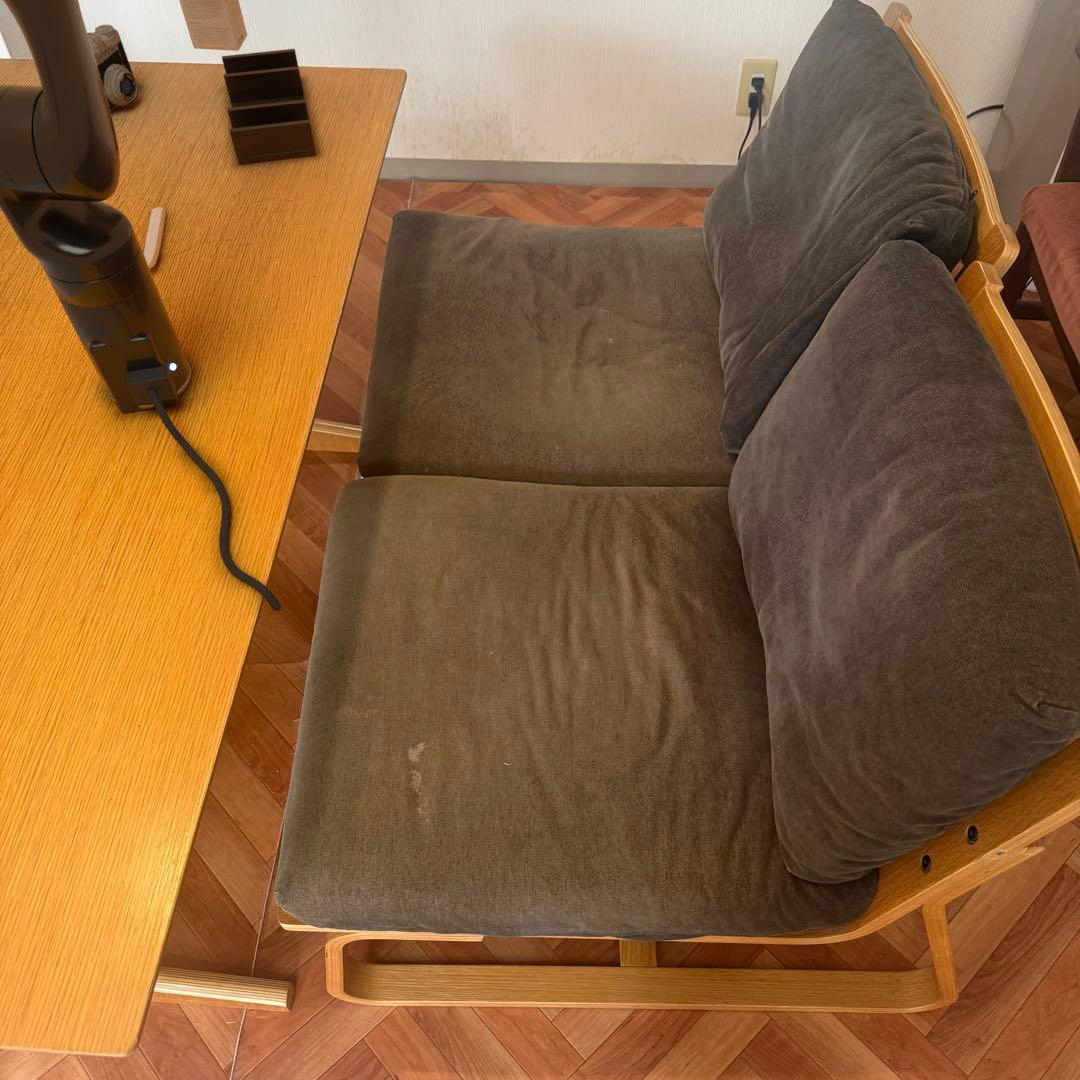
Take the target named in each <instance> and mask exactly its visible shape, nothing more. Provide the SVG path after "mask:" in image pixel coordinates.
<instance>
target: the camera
mask: <svg viewBox="0 0 1080 1080" xmlns="http://www.w3.org/2000/svg"><path fill="white" fill-rule="evenodd" d="M87 34H88V37H89V41H90V44H91V47H92V51H93V54H94V58H95V61H96V64H97V68H98V71H99V74H100V78H101V81H102V85H103V88H104V91H105V95H106V98H107V101H108V105H109V109H110V112H112V111H113V110H114V109H116V108H117V107H118V108H119V107H125V106H127V105H129V103H131V102H133V101H134V100H135V99H136V96H137V93H138V83H137V80H136V78H135V76H134V73H133V71H132V68H131V65H130V61H129V59H128V55H127V53H126V50H125V47H124V45H123V42H122V39H121V36H120V33H119V31H118V30H117V29H115V28H114V26H113V25H111V24H100V25H99V26H97V27H95V28H94V32H87Z"/></svg>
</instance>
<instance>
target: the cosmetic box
mask: <svg viewBox="0 0 1080 1080" xmlns="http://www.w3.org/2000/svg"><path fill="white" fill-rule="evenodd" d="M179 4H180V7H181V10H182V14H183V17H184V21H185V24H186V27H187V31H188V34H189V38H190V40H191V44H192V47H193V49H196V50H212V51H213V50H214V51H215V50H216V51H232V52H233V51H234V52H238V51H240V49H241V47H242V46H243V44H244V42H245V41H246V40H247V37H248V32H247V28H246V25H245V20H244V15H243V12H242V8H241V5H240V1H239V0H179Z"/></svg>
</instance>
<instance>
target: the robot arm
mask: <svg viewBox="0 0 1080 1080" xmlns="http://www.w3.org/2000/svg"><path fill="white" fill-rule="evenodd" d="M2 1H3V3H4V4H5V6H6V7H7V9H8V10H9V12H10V13H11V15H12V16H13V18H14V20H15V22H16V23H17V25H18V27H19V29H20V31H21V33H22V35H23V38H24V40H25V43H26V44H27V47H28V50H29V52H30V54H31V57H32V60H33V63H34V66H35V68H36V73H37V75H38V79H39V82H40V85H26V84H5V83H3V84H2V83H0V210H1V212H2V213H3V215H4V217H5V218H6V220H7V222H8V223H9V225H10V227H11V229H12V230H13V231H14V234H15V235H16V237H17V238H18V240H19V242H20V243H21V245H22V246H23V247H24V249H25V250H26V251H27V252H28V253H29V254H31V255H32V256H33V257H34V258H35V259H37V261H38V262H39V264H40V265H41V268H42V269H43V271H44V273H45V275H46V277H47V278H48V281H49V283H50V284H51V286H52V289H53V290H54V292H55V294H56V296H57V299H58V300H59V302H60V304H61V307H62V308H63V310H64V312H65V314H66V315H67V318H68V319H69V321H70V324H71V325H72V327H73V329H74V331H75V334H76V335H77V337H78V338H79V340H80V342H81V345H82V347H83V348H84V350H85V352H86V354H87V356H88V359H89V360H90V362H91V365H92V366H93V368H94V369H95V372H96V373H97V375H98V377H99V379H100V381H101V383H102V385H103V387H104V390H105V393H106V394H107V396H108V398H109V399H110V400H111V401H112V402H113V403H114V404H115V405H116V406H117V408H118V410H119V412H120V413H121V414H124V413H130V412H136V411H142V410H143V411H144V410H150V409H155V411H156V413H157V415H158V416H159V418H160V420H161V422H162V423H163V425H164V427H165V428H166V429H167V431H168V432H169V434H170V435H171V436H172V438H173V439H174V440H175V441H176V443H178V445H179V446H180V447H181V448H182V450H183V452H185V453H186V455H187V456H188V457H189V458H190V460H192V461H193V463H194V464H195V465H196V466H197V467H198V468H199V469H200V470H201V471H202V472H203V473H204V474H205V476H207V477H208V479H209V480H210V481H211V483H212V484H213V486H214V488H215V490H216V491H217V494H218V497H219V500H220V505H221V518H220V519H221V520H220V525H219V526H220V527H219V535H218V548H219V555H220V557H221V560H222V562H223V564H224V566H225V568H226V569H227V570H228V572H229V573H230V574H231V575H232V576H233V577H235V578H236V579H237V580H239V581H241V582H242V583H244V584H246V585H247V586H249V587H251V588H252V589H254V590H255V591H257V592H258V593H259V594H260V595H261V596H262V597H263V598H264V599H265V600H266V602H267V603H268V604H269V606H270V607H271V609H272V610H273V611H275V612H278V611H280V610H281V609H282V604H281V603H280V602H279V601H280V600H278V599H277V597H276V595H275V594H274V593H273V592H272V591H271V590H270V589H269V588H268V587H267V586H266V585H265V584H264V583H262V582H261V581H260V580H258V579H257V578H256V577H253V576H252V575H249V574H248V573H246V572H245V571H243V570H242V569H240V568H239V567H238V566H237V565H236V563H235V562H234V561H233V558H232V555H231V553H230V550H229V549H230V548H229V533H230V524H231V512H232V510H231V509H232V508H231V499H230V498H229V494H228V492H227V489H226V486H225V485H224V483H223V482H222V480H221V478H220V476H218V474H217V473H216V472H215V471H214V470H213V468H212V467H211V466H209V465H208V463H207V462H205V460H204V459H203V458H202V457H201V456H200V455H199V454H198V453H197V452H196V450H194V448H193V447H192V446H191V444H190V443H189V441H187V440H186V438H185V437H184V436H183V435H182V434H181V432H180V431H179V430H178V429H177V427H176V426H175V424H174V423H173V421H172V420H171V418H170V416H169V415H168V413H167V410H166V408H165V407H168V406H173V405H177V404H178V403H179V398H180V396H181V395H182V394H183V393H184V392H185V391H186V390H187V388H188V387H189V385H190V383H191V380H192V375H193V374H192V368H191V366H190V363H189V360H187V359H188V358H187V357H186V356H185V353H184V351H183V347H182V345H181V343H180V340H179V338H178V335H177V333H176V331H175V329H174V326H173V324H172V320H171V319H170V316H169V313H168V311H167V309H166V305H165V304H164V302H163V299H162V297H161V294H160V291H159V289H158V286H157V283H156V282H155V279H154V277H153V274H152V272H151V268H150V269H149V267H148V264H147V261H146V259H145V256H144V250H143V249H142V247H141V244H140V241H139V239H138V237H137V234H136V232H135V229H134V226H133V225H132V223H131V221H130V219H129V218H128V216H126V215H125V213H123V212H122V211H121V210H120V209H118V208H117V207H115V206H113V205H112V204H108V203H106V202H103V201H107V200H109V199H110V198H112V196H114V194H115V193H116V190H117V188H118V185H119V183H120V175H121V157H120V149H119V144H118V143H119V142H118V136H117V132H116V128H115V123H114V120H113V116H112V113H111V112H112V111H111V112H110V109H109V105H108V101H107V98H106V95H105V91H104V88H103V85H102V81H101V78H100V74H99V71H98V68H97V64H96V61H95V58H94V54H93V51H92V47H91V44H90V41H89V37H88V34H87V33H88V30H87V27H86V24H85V20H84V18H83V17H84V16H83V14H82V10H81V6H80V2H79V0H2Z"/></svg>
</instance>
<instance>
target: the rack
mask: <svg viewBox="0 0 1080 1080" xmlns="http://www.w3.org/2000/svg"><path fill="white" fill-rule="evenodd" d="M221 60H222V64H223V69H224V71H225V73H223V79H224V83H225V86H226V90H227V94H228V97H229V101H230V107H227V109H226V110H227V115H228V118H229V121H230V124H231V125H230V126H231V128H229V134H230V138H231V141H232V145H233V149H234V152H235V157H236V160H237V164H238V165H239V166H240V165H249V164H258V163H266V162H273V161H274V162H275V161H282V160H290V159H298V158H307V157H315V156H317V153H316V147H315V141H314V137H313V132H312V127H311V122H310V117H309V112H308V107H307V102H306V98H305V92H304V88H303V82H302V78H301V72H300V68H299V63H298V58H297V53H296V49H295V48H287V49H277V50H268V51H259V52H249V53H240V54H238V53H237V54H230V55H222V56H221Z"/></svg>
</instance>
